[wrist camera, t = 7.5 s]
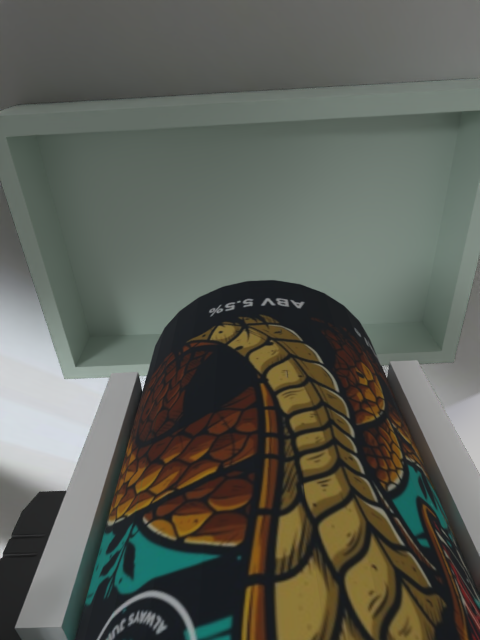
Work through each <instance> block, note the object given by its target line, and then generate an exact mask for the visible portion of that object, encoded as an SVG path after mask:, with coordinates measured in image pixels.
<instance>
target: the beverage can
mask: <svg viewBox="0 0 480 640" xmlns="http://www.w3.org/2000/svg"><path fill="white" fill-rule="evenodd" d="M75 640H480V594H479V592H478V589H477V587H476V585H475V582H474V580H473V578H472V575H471V573H470V571H469V568H468V566H467V564H466V561H465V559H464V557H463V554H462V552H461V550H460V547H459V545H458V543H457V540H456V538H455V536H454V533H453V531H452V529H451V526H450V524H449V522H448V519H447V517H446V515H445V512H444V510H443V508H442V506H441V503H440V501H439V499H438V496H437V494H436V492H435V489H434V487H433V485H432V482H431V480H430V478H429V475H428V473H427V471H426V468H425V466H424V464H423V461H422V459H421V457H420V454H419V452H418V450H417V447H416V445H415V443H414V440H413V438H412V436H411V433H410V431H409V429H408V426H407V424H406V422H405V420H404V417H403V415H402V413H401V410H400V408H399V406H398V403H397V401H396V399H395V396H394V394H393V392H392V389H391V387H390V385H389V382H388V380H387V378H386V375H385V373H384V371H383V368H382V366H381V364H380V361H379V359H378V357H377V354H376V352H375V350H374V347H373V345H372V343H371V340H370V338H369V337H368V335H367V333H366V332H365V330H364V328H363V326H362V325H361V323H360V321H359V320H358V319H357V318H356V317H355V316H354V315H353V314H352V313H351V312H350V311H349V310H348V309H347V308H346V307H345V306H344V305H342V304H341V303H339V302H338V301H336V300H334V299H333V298H331V297H330V296H328V295H327V294H325V293H323V292H320V291H317V290H315V289H312V288H309V287H307V286H304V285H301V284H296V283H290V282H284V281H277V280H259V281H245V282H241V283H236V284H232V285H227V286H223V287H221V288H218V289H216V290H214V291H212V292H209V293H207V294H205V295H203V296H200V297H198V298H197V299H196V300H194V301H193V302H191V303H190V304H189V305H187V306H186V307H184V308H183V309H182V310H180V311H179V312H178V313H177V314H176V315H175V317H174V318H173V319H172V320H171V321H170V322H169V323H168V324H167V326H166V327H165V328H164V330H163V332H162V334H161V336H160V337H159V339H158V341H157V343H156V345H155V348H154V352H153V355H152V359H151V363H150V366H149V370H148V374H147V377H146V381H145V385H144V388H143V392H142V396H141V399H140V403H139V407H138V410H137V414H136V418H135V421H134V425H133V429H132V432H131V436H130V440H129V443H128V447H127V451H126V454H125V458H124V462H123V465H122V469H121V473H120V476H119V480H118V484H117V487H116V491H115V495H114V498H113V502H112V506H111V509H110V513H109V517H108V520H107V524H106V528H105V531H104V535H103V539H102V542H101V546H100V550H99V553H98V557H97V561H96V564H95V568H94V572H93V575H92V579H91V583H90V586H89V590H88V594H87V597H86V601H85V605H84V608H83V612H82V616H81V619H80V623H79V627H78V630H77V634H76V638H75Z"/></svg>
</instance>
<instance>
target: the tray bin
mask: <svg viewBox="0 0 480 640" xmlns="http://www.w3.org/2000/svg"><path fill="white" fill-rule="evenodd" d="M0 181H1V184H2V187H3V190H4V193H5V197H6V200H7V203H8V206H9V209H10V212H11V215H12V218H13V221H14V224H15V227H16V231H17V234H18V237H19V240H20V243H21V246H22V249H23V252H24V255H25V258H26V261H27V264H28V268H29V271H30V274H31V277H32V280H33V283H34V286H35V289H36V292H37V295H38V298H39V302H40V305H41V308H42V311H43V314H44V317H45V320H46V323H47V326H48V329H49V332H50V336H51V339H52V342H53V345H54V348H55V351H56V354H57V357H58V360H59V363H60V366H61V369H62V373H63V376H64V379H81V378H104V377H110V376H111V373H124V372H138V374H139V376H147V374H148V370H149V366H150V363H151V359H152V355H153V352H154V348H155V345H156V343H157V341H158V339H159V337H160V336H161V334H162V332H163V330H164V328H165V327H166V326H167V324H168V323H169V322H170V321H171V320H172V319H173V318H174V317H175V315H176V314H177V313H178V312H179V311H180V310H182V309H183V308H184V307H186V306H187V305H189V304H190V303H191V302H193V301H194V300H196V299H197V298H198V297H200V296H203V295H205V294H207V293H209V292H212V291H214V290H216V289H218V288H221V287H223V286H227V285H232V284H236V283H241V282H245V281H259V280H277V281H284V282H290V283H296V284H301V285H304V286H307V287H309V288H312V289H315V290H317V291H320V292H323V293H325V294H327V295H328V296H330V297H331V298H333V299H334V300H336V301H338V302H339V303H341V304H342V305H344V306H345V307H346V308H347V309H348V310H349V311H350V312H351V313H352V314H353V315H354V316H355V317H356V318H357V319H358V320H359V321H360V323H361V325H362V326H363V328H364V330H365V332H366V333H367V335H368V337H369V338H370V340H371V343H372V345H373V347H374V350H375V352H376V354H377V357H378V359H379V361H380V364H381V366H383V365H389V363H390V361H412V360H417V361H418V362H419V364H430V363H453V362H454V359H455V355H456V351H457V347H458V342H459V338H460V334H461V330H462V326H463V322H464V318H465V313H466V309H467V305H468V301H469V297H470V293H471V289H472V284H473V280H474V276H475V272H476V268H477V264H478V260H479V256H480V79H479V78H474V79H457V80H439V81H422V82H405V83H387V84H370V85H353V86H335V87H318V88H301V89H284V90H266V91H249V92H232V93H214V94H197V95H180V96H163V97H145V98H128V99H111V100H93V101H76V102H59V103H42V104H24V105H16V106H13V107H10V108H7V109H4V110H0Z"/></svg>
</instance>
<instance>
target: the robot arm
mask: <svg viewBox="0 0 480 640" xmlns="http://www.w3.org/2000/svg"><path fill="white" fill-rule="evenodd" d="M387 380H388V382H389V385H390V387H391V389H392V392H393V394H394V396H395V399H396V401H397V403H398V406H399V408H400V410H401V413H402V415H403V417H404V420H405V422H406V424H407V426H408V429H409V431H410V433H411V436H412V438H413V440H414V443H415V445H416V447H417V450H418V452H419V454H420V457H421V459H422V461H423V464H424V466H425V468H426V471H427V473H428V475H429V478H430V480H431V482H432V485H433V487H434V489H435V492H436V494H437V496H438V499H439V501H440V503H441V506H442V508H443V510H444V512H445V515H446V517H447V519H448V522H449V524H450V526H451V529H452V531H453V533H454V536H455V538H456V540H457V543H458V545H459V547H460V550H461V552H462V554H463V557H464V559H465V561H466V564H467V566H468V568H469V571H470V573H471V575H472V578H473V580H474V582H475V585H476V587H477V589H478V592H479V594H480V474H479V472H478V470H477V468H476V467H475V465H474V463H473V461H472V459H471V457H470V456H469V454H468V452H467V450H466V448H465V447H464V445H463V443H462V441H461V439H460V438H459V436H458V434H457V432H456V430H455V428H454V427H453V425H452V423H451V421H450V419H449V417H448V416H447V414H446V412H445V410H444V408H443V406H442V404H441V403H440V401H439V399H438V397H437V395H436V393H435V392H434V390H433V388H432V386H431V384H430V383H429V381H428V379H427V377H426V375H425V373H424V372H423V370H422V368H421V366H420V364H419V362H418V361H417V360H412V361H390V363H389V370H388V377H387ZM141 396H142V388H141V383H140V378H139V374H138V372H124V373H111V376H110V378H109V381H108V383H107V386H106V389H105V391H104V394H103V397H102V399H101V402H100V405H99V407H98V410H97V412H96V415H95V418H94V420H93V423H92V426H91V428H90V431H89V434H88V436H87V439H86V441H85V444H84V447H83V449H82V452H81V455H80V457H79V460H78V462H77V465H76V468H75V470H74V473H73V476H72V478H71V481H70V484H69V486H68V489H67V491H49V492H39V493H38V494H37V495H36V497H35V498H34V499H33V500H32V501H31V502H30V503H29V504H28V506H27V507H26V508H25V509H24V510H23V511H22V513H21V515H20V517H19V519H18V521H17V524H16V526H15V528H14V530H13V532H12V538H11V539H9V541H8V543H7V546H6V548H5V550H4V552H3V557H2V558H1V559H0V640H75V638H76V634H77V630H78V627H79V623H80V619H81V616H82V612H83V608H84V605H85V601H86V597H87V594H88V590H89V586H90V583H91V579H92V575H93V572H94V568H95V564H96V561H97V557H98V553H99V550H100V546H101V542H102V539H103V535H104V531H105V528H106V524H107V520H108V517H109V513H110V509H111V506H112V502H113V498H114V495H115V491H116V487H117V484H118V480H119V476H120V473H121V469H122V465H123V462H124V458H125V454H126V451H127V447H128V443H129V440H130V436H131V432H132V429H133V425H134V421H135V418H136V414H137V410H138V407H139V403H140V399H141Z"/></svg>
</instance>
